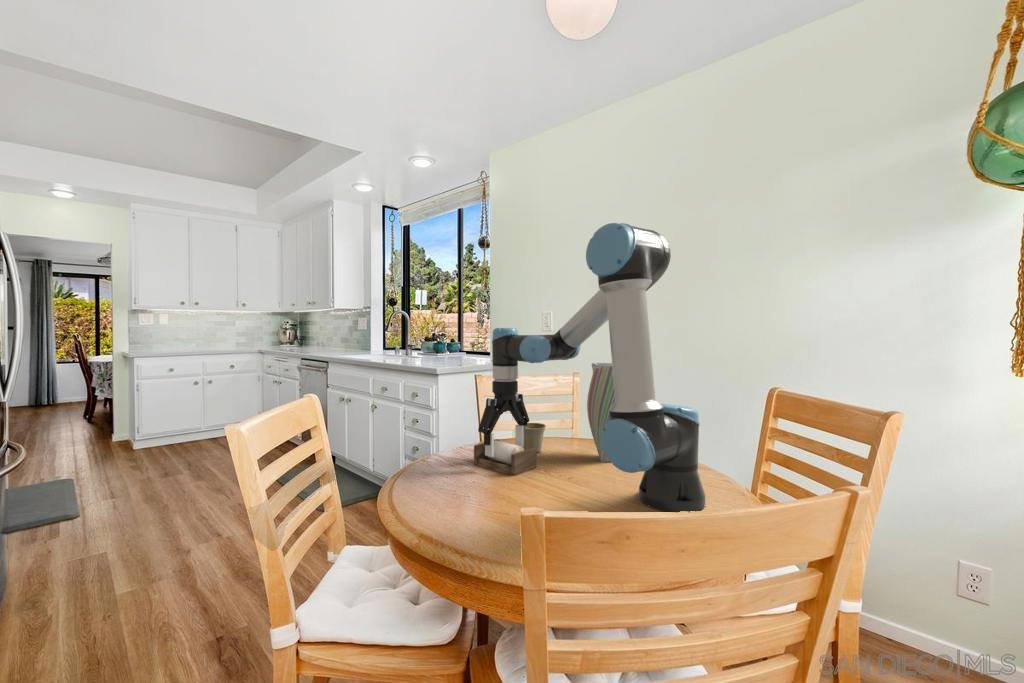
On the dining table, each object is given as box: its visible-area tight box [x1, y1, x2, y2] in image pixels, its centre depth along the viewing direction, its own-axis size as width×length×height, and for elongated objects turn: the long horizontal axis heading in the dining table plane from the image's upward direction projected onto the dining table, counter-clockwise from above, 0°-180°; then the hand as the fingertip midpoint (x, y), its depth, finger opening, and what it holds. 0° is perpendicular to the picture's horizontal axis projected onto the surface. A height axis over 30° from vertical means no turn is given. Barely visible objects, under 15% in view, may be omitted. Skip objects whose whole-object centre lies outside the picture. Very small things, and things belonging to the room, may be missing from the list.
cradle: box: [473, 438, 538, 477], centre depth 138 cm, size 16×10×6 cm, turn 49°
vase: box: [586, 362, 615, 463], centre depth 144 cm, size 14×14×30 cm
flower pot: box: [523, 422, 547, 453], centre depth 154 cm, size 9×9×9 cm
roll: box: [488, 439, 524, 465], centre depth 138 cm, size 10×6×6 cm, turn 48°
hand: (504, 451), depth 138 cm, fingers open, 13 cm apart
